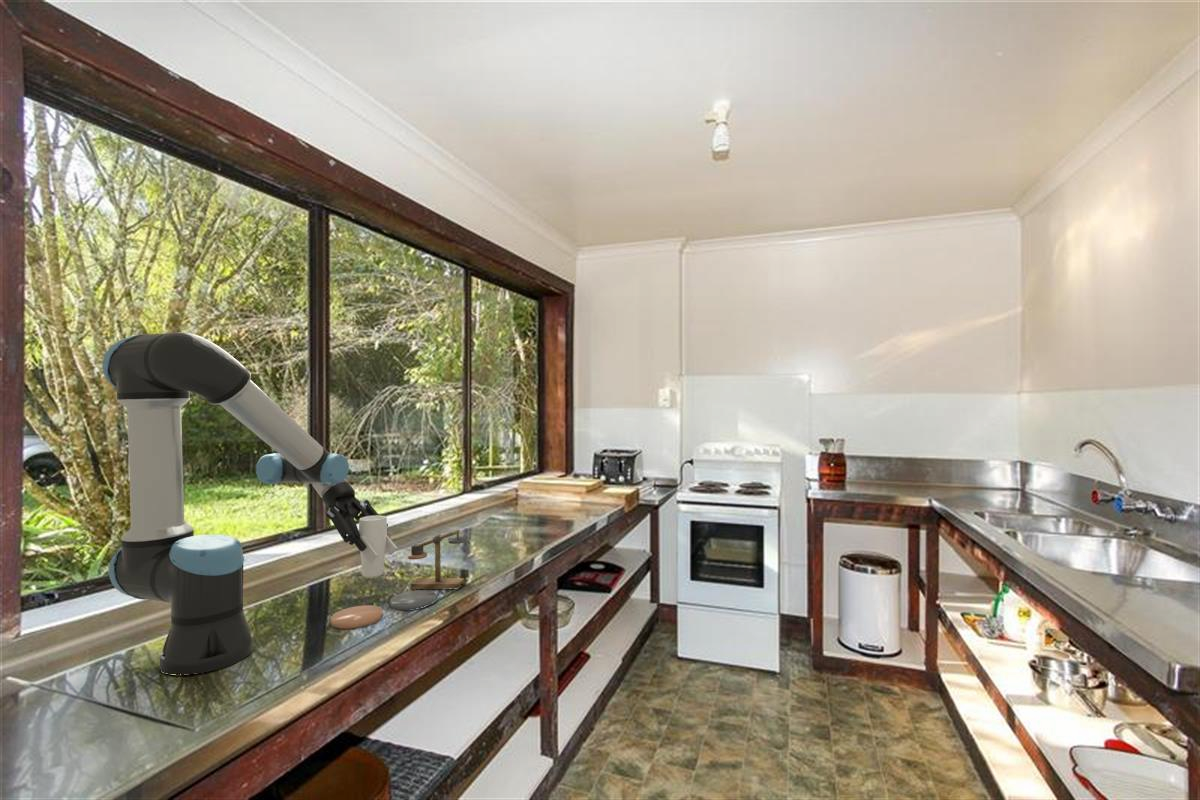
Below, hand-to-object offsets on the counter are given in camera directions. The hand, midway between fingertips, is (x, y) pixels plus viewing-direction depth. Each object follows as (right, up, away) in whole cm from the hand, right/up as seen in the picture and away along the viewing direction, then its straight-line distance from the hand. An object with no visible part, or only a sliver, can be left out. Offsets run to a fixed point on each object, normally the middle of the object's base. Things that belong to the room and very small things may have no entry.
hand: (384, 555), depth 142 cm
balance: (+12, -11, +7) cm, 18 cm away
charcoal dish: (+9, -11, -5) cm, 15 cm away
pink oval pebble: (0, -11, -15) cm, 19 cm away
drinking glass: (-3, -6, +1) cm, 7 cm away
